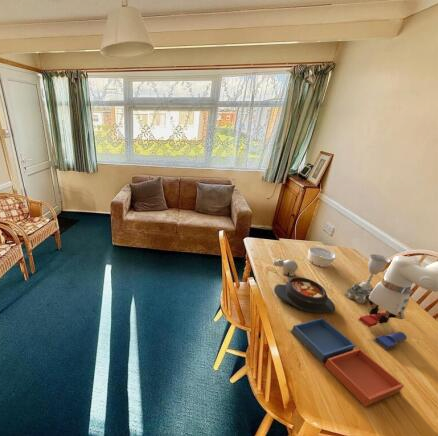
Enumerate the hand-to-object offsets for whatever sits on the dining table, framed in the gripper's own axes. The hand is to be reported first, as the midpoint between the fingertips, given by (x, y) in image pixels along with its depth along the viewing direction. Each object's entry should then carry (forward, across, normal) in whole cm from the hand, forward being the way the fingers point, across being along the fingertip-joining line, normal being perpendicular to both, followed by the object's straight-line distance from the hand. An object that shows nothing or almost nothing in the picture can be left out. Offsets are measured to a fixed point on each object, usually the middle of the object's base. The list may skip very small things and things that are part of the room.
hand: (377, 318), depth 98 cm
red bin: (+2, -15, +32) cm, 36 cm away
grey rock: (+2, +14, -9) cm, 16 cm away
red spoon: (0, 0, +2) cm, 2 cm away
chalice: (+2, +18, -21) cm, 27 cm away
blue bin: (+2, -1, +32) cm, 32 cm away
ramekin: (+1, +42, -18) cm, 45 cm away
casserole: (+2, +19, +20) cm, 27 cm away
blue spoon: (+2, -8, +5) cm, 10 cm away
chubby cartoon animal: (+1, +40, +11) cm, 41 cm away
